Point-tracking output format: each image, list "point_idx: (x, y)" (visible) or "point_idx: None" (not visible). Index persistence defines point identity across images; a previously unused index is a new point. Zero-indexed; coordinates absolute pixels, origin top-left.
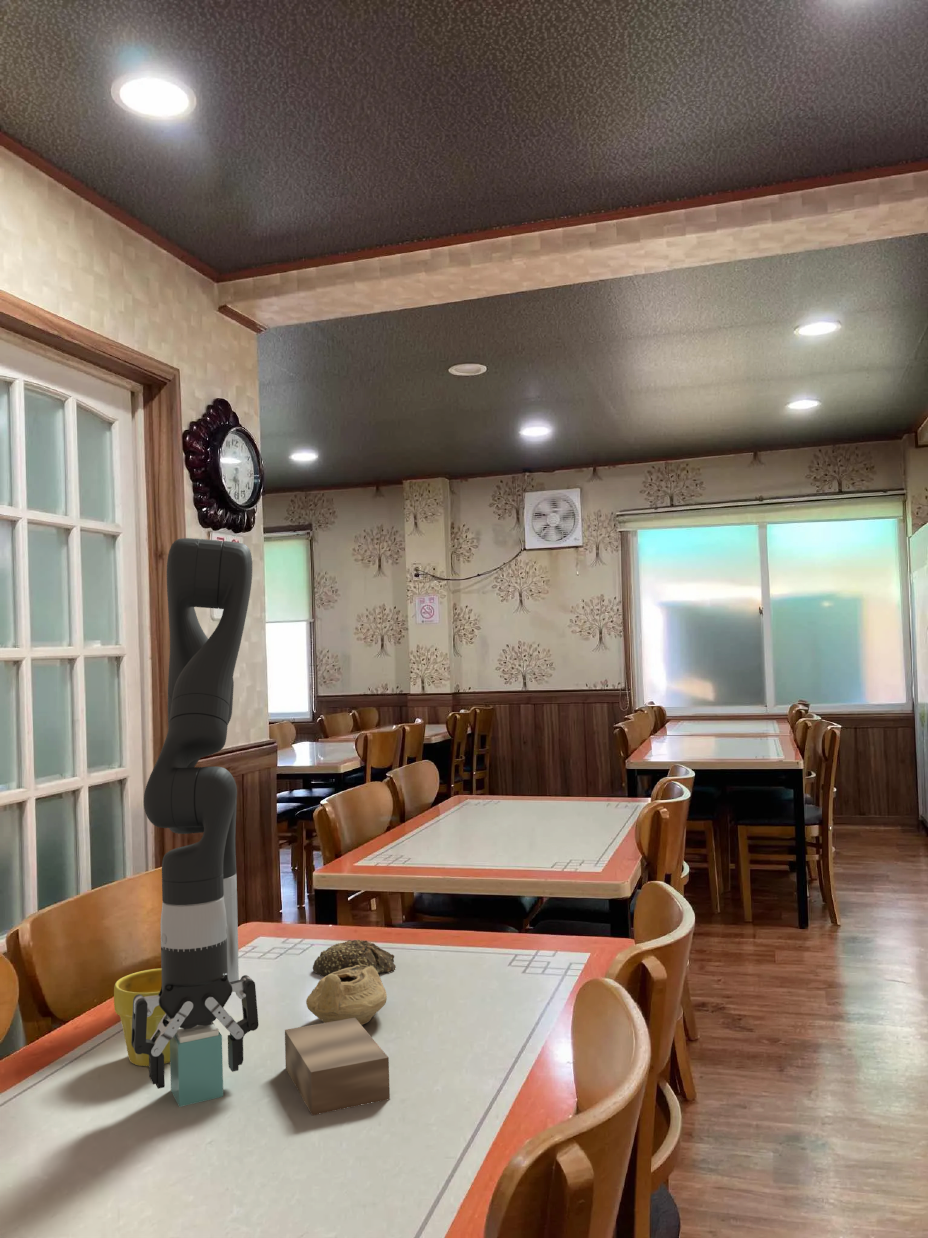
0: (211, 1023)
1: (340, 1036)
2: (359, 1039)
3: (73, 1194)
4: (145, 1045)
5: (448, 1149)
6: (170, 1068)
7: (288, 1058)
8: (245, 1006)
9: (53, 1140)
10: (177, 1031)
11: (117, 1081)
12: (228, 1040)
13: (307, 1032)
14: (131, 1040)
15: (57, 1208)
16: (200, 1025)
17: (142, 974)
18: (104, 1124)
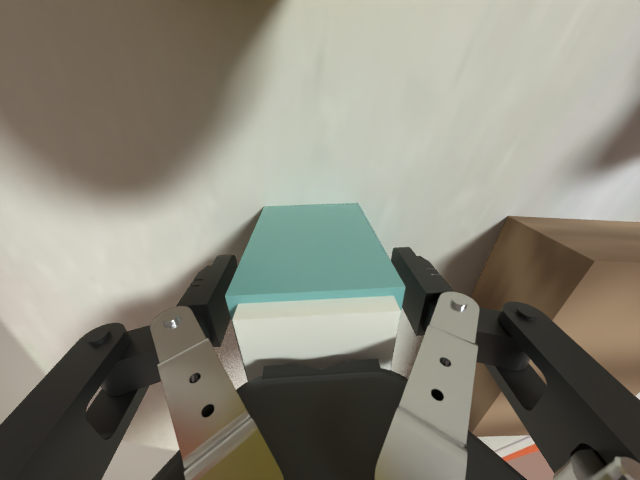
0: (384, 358)
1: (633, 350)
2: (637, 374)
3: (147, 414)
4: (144, 394)
5: (492, 445)
6: (255, 228)
7: (519, 261)
8: (542, 421)
9: (61, 304)
10: (250, 375)
11: (113, 63)
12: (419, 292)
13: (613, 304)
14: (71, 352)
15: (136, 426)
16: (342, 358)
17: None
18: (142, 288)
